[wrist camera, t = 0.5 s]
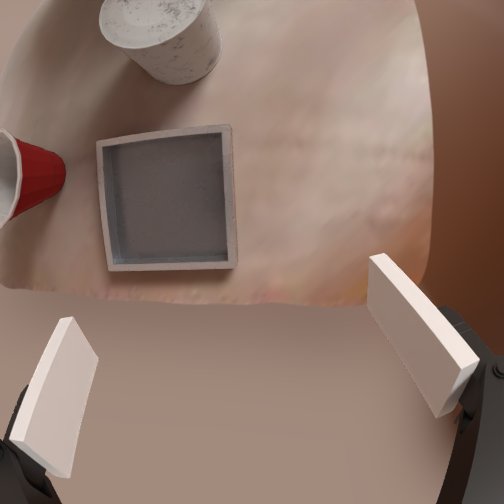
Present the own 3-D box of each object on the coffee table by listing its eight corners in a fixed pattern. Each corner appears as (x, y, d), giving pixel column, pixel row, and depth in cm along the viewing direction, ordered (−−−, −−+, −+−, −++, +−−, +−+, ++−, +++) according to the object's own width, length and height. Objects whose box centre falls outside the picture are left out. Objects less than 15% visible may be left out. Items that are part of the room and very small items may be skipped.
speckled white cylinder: (163, 100, 32) (119, 70, 20) (132, 43, 29) (86, 2, 18) (237, 59, 30) (227, 10, 18) (200, 4, 28) (179, -52, 16)
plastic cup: (52, 116, 32) (-9, 107, 20) (95, 170, 34) (35, 175, 22) (12, 176, 34) (-47, 184, 22) (50, 229, 36) (-9, 252, 24)
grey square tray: (107, 142, 33) (95, 141, 30) (231, 128, 32) (229, 124, 29) (118, 263, 37) (108, 271, 34) (237, 260, 36) (236, 268, 33)
